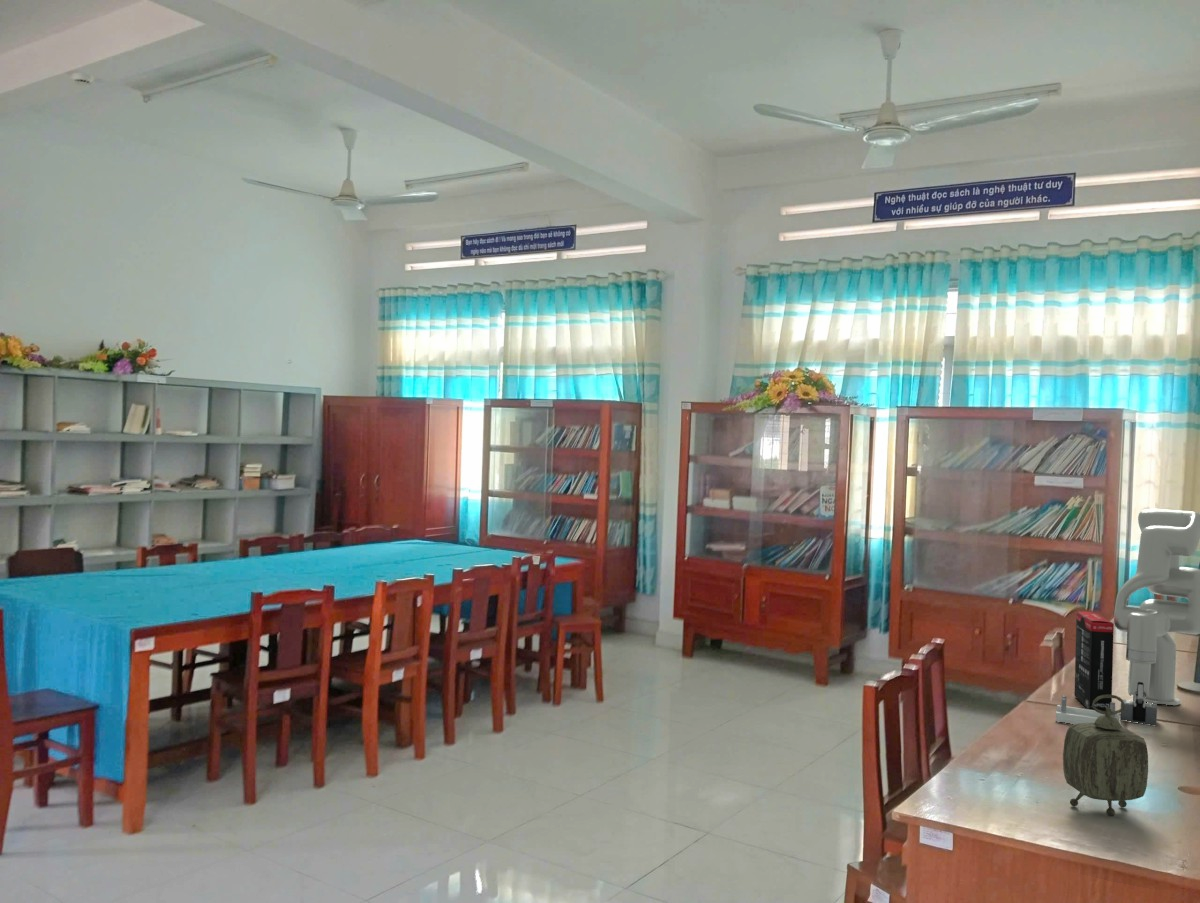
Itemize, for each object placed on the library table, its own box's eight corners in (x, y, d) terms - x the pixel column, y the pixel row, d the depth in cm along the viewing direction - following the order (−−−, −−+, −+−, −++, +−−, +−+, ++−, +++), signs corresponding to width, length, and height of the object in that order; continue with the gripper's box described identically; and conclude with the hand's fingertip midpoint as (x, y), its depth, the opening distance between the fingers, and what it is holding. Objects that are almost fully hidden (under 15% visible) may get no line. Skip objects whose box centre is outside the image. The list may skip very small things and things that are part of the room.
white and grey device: (1057, 712, 283) (1057, 692, 283) (1118, 721, 276) (1119, 700, 276) (1055, 721, 273) (1056, 700, 273) (1119, 731, 266) (1120, 709, 266)
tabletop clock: (1126, 804, 210) (1130, 690, 210) (1151, 821, 201) (1156, 701, 201) (1060, 803, 210) (1065, 688, 209) (1083, 819, 201) (1087, 700, 200)
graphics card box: (1113, 713, 285) (1116, 621, 284) (1087, 711, 286) (1091, 620, 286) (1095, 698, 301) (1098, 612, 301) (1071, 696, 303) (1075, 610, 303)
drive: (1121, 716, 282) (1121, 698, 282) (1156, 721, 278) (1157, 703, 278) (1120, 720, 277) (1120, 702, 277) (1156, 726, 273) (1156, 707, 273)
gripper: (1125, 648, 287) (1122, 709, 287) (1126, 659, 271) (1124, 723, 272) (1154, 652, 283) (1151, 713, 283) (1157, 663, 268) (1154, 727, 268)
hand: (1138, 717), depth 278 cm, fingers closed on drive, 5 cm apart
